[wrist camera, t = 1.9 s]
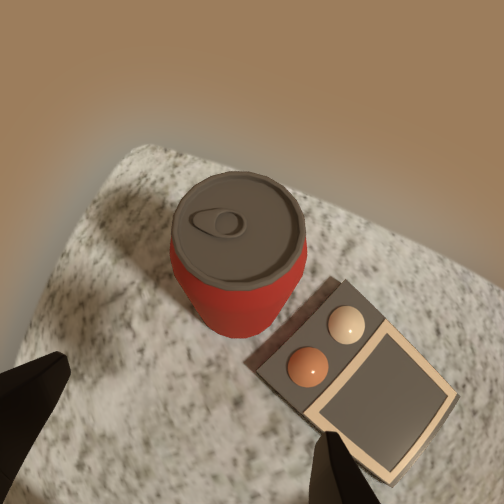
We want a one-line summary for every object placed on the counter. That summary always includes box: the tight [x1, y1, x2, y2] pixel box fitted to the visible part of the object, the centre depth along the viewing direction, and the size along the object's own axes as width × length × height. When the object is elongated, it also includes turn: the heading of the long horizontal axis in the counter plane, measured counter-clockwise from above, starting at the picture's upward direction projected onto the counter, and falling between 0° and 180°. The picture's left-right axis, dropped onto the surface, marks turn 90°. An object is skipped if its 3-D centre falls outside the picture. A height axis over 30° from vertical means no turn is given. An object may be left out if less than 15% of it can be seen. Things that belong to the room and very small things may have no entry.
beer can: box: [170, 171, 307, 338], centre depth 17 cm, size 7×7×12 cm
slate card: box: [256, 279, 460, 488], centre depth 20 cm, size 10×16×1 cm, turn 44°
